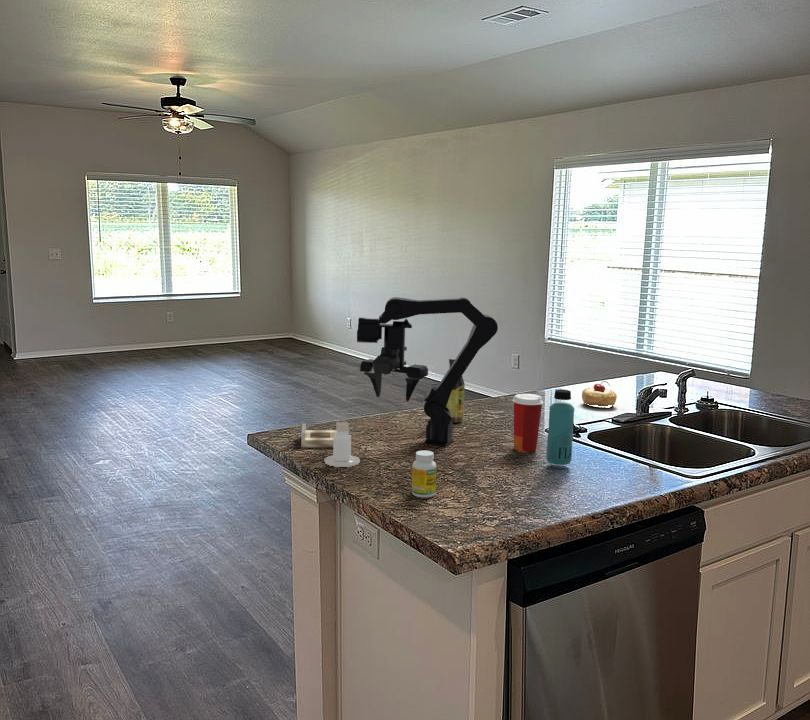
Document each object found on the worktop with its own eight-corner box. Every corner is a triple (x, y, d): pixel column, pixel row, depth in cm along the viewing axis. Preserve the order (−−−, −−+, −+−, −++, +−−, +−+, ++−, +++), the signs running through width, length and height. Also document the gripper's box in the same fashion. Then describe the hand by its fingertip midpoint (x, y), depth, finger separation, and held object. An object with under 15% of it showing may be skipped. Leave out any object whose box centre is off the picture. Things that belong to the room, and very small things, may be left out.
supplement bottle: (419, 488, 168) (421, 447, 166) (439, 493, 165) (441, 452, 164) (406, 494, 164) (408, 453, 162) (427, 500, 161) (429, 457, 159)
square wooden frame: (337, 437, 208) (338, 423, 207) (338, 447, 198) (338, 432, 197) (302, 437, 207) (302, 423, 206) (301, 447, 197) (301, 432, 196)
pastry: (575, 402, 262) (576, 378, 260) (605, 401, 264) (607, 377, 263) (591, 410, 250) (593, 384, 249) (622, 409, 253) (624, 384, 251)
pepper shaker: (335, 456, 187) (336, 420, 186) (351, 457, 187) (351, 421, 185) (332, 461, 183) (333, 424, 182) (348, 462, 183) (349, 425, 181)
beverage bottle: (556, 472, 182) (561, 393, 179) (539, 464, 188) (544, 388, 185) (576, 469, 185) (582, 391, 182) (559, 461, 191) (564, 386, 188)
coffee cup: (543, 448, 203) (546, 395, 200) (535, 455, 196) (539, 401, 193) (514, 443, 206) (517, 391, 204) (505, 451, 199) (508, 397, 196)
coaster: (366, 460, 187) (366, 458, 187) (348, 469, 179) (348, 467, 179) (336, 454, 191) (336, 452, 191) (317, 463, 183) (317, 461, 183)
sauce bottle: (461, 424, 226) (464, 361, 222) (441, 422, 227) (444, 359, 224) (464, 419, 232) (467, 357, 229) (444, 417, 233) (447, 356, 230)
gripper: (350, 343, 198) (348, 400, 201) (411, 350, 190) (409, 409, 192) (370, 339, 208) (368, 392, 210) (429, 345, 200) (427, 401, 202)
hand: (392, 399), depth 204 cm, fingers open, 9 cm apart
